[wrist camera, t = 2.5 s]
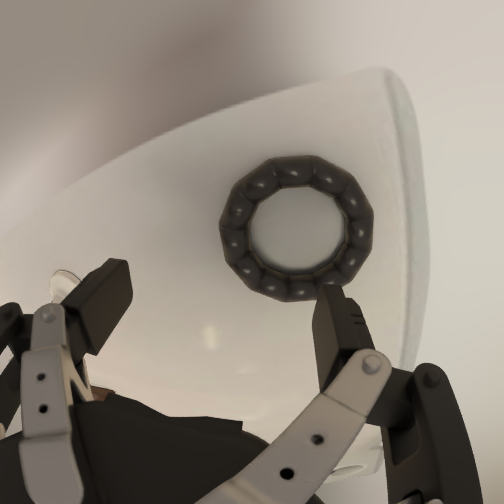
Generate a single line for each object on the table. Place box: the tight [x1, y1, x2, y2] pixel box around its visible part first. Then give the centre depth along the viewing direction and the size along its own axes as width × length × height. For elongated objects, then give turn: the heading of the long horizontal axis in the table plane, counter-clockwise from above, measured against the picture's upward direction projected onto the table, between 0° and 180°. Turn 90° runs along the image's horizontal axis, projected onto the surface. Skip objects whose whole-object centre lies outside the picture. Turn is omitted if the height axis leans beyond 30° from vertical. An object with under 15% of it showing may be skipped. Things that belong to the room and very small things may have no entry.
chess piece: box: [9, 271, 80, 362], centre depth 17 cm, size 5×5×10 cm
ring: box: [219, 156, 374, 302], centre depth 17 cm, size 10×10×2 cm
